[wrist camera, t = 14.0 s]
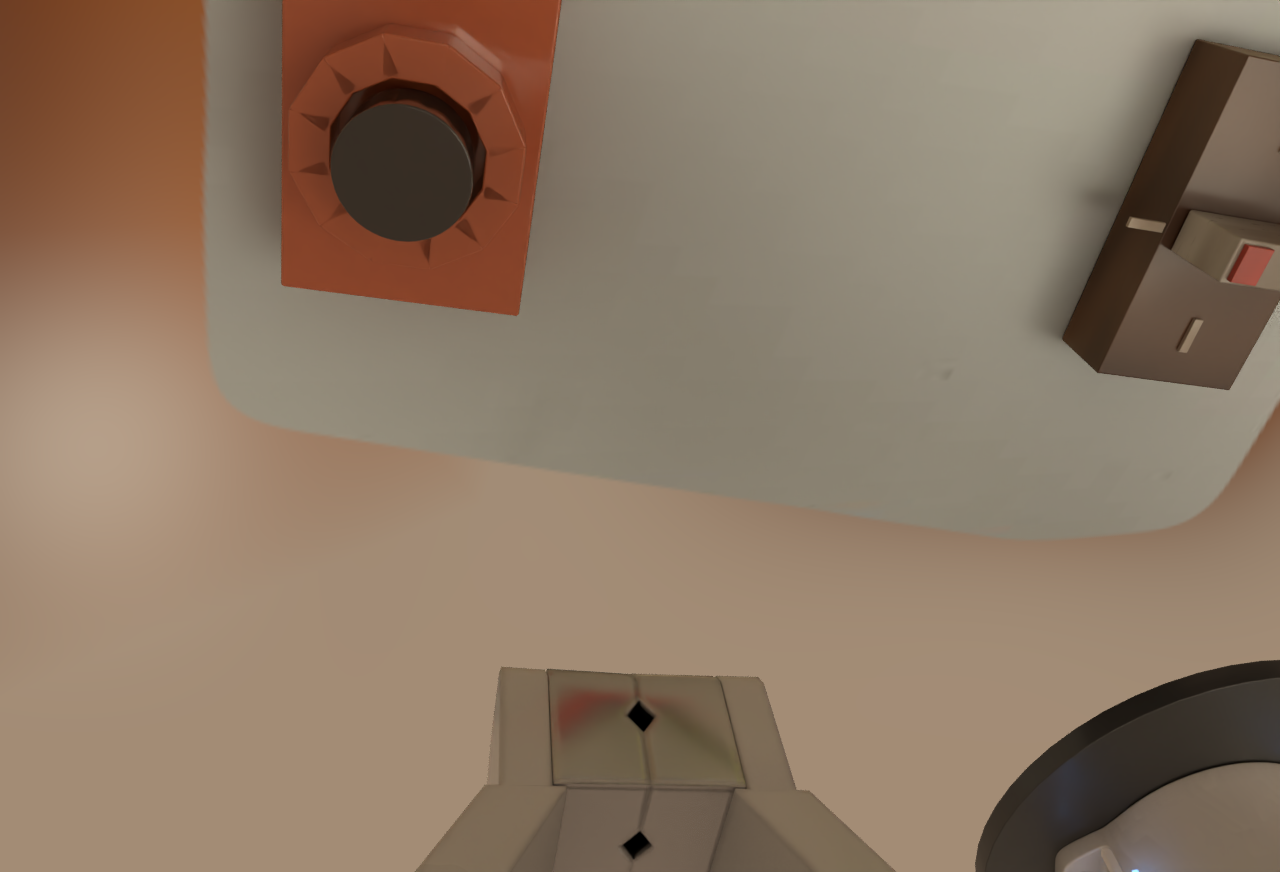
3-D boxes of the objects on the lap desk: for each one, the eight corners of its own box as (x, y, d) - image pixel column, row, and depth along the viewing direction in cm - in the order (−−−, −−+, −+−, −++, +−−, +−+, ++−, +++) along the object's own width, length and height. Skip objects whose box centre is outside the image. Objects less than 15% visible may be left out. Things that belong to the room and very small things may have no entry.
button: (469, 227, 31) (465, 251, 29) (338, 209, 30) (327, 232, 29) (482, 99, 29) (480, 116, 27) (343, 76, 28) (331, 92, 27)
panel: (1219, 361, 42) (1266, 396, 40) (1026, 334, 41) (1062, 370, 38) (1374, 75, 36) (1442, 95, 34) (1156, 30, 35) (1210, 46, 32)
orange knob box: (518, 281, 37) (518, 339, 33) (298, 251, 36) (268, 308, 31) (561, -34, 32) (567, -13, 27) (302, -85, 30) (267, -70, 26)
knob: (1309, 228, 36) (1373, 261, 33) (1286, 269, 37) (1348, 304, 34) (1189, 208, 35) (1246, 241, 32) (1169, 251, 36) (1223, 285, 33)
